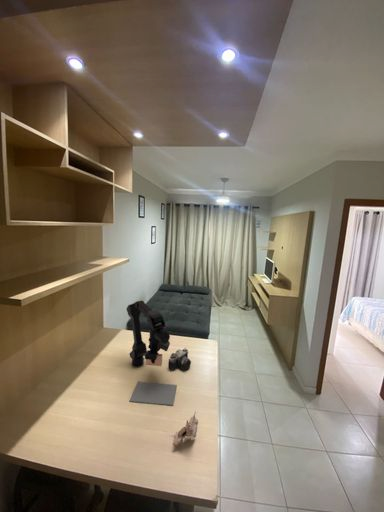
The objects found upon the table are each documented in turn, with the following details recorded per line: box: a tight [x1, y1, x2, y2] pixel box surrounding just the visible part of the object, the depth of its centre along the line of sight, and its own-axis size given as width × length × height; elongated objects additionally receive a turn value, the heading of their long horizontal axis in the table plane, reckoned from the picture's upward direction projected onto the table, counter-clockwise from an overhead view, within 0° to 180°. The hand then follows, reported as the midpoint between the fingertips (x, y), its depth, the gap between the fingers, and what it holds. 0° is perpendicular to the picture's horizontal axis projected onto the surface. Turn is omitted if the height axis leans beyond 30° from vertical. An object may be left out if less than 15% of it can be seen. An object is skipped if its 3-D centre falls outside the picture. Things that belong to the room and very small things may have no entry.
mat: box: [129, 381, 178, 407], centre depth 115 cm, size 22×14×1 cm, turn 87°
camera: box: [167, 347, 192, 371], centre depth 138 cm, size 16×10×10 cm, turn 138°
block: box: [145, 353, 163, 367], centre depth 123 cm, size 9×2×6 cm, turn 87°
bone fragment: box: [172, 411, 199, 447], centre depth 93 cm, size 16×7×10 cm
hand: (153, 362), depth 123 cm, fingers closed on block, 2 cm apart
